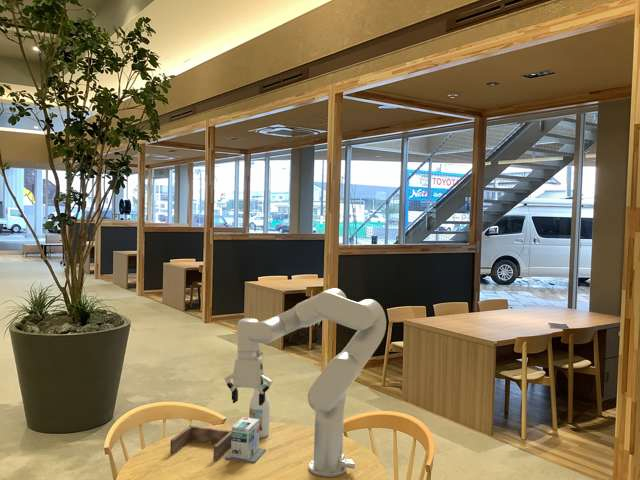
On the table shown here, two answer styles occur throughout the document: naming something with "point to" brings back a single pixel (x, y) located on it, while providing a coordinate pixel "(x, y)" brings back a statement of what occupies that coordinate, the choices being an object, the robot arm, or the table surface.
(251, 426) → the light bulb box
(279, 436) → the table surface
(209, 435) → the cubby
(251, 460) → the pad
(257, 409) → the milk bottle
